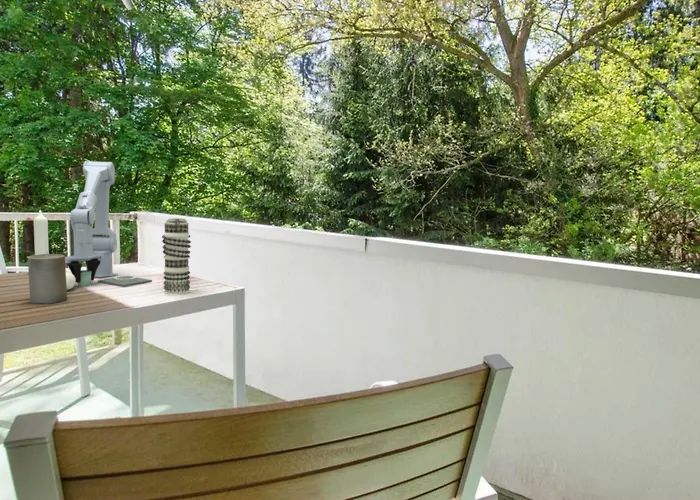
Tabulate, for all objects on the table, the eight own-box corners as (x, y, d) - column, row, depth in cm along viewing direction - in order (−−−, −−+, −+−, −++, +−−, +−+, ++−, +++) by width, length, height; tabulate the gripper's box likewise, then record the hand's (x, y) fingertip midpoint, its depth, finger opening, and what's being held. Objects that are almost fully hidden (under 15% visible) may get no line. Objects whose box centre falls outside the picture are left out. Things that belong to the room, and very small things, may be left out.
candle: (27, 275, 188) (24, 209, 185) (43, 273, 195) (41, 209, 192) (41, 277, 186) (39, 210, 183) (57, 274, 193) (55, 210, 190)
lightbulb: (60, 278, 157) (69, 265, 167) (41, 287, 157) (52, 274, 167) (73, 293, 160) (81, 279, 170) (55, 303, 160) (65, 288, 170)
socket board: (97, 282, 180) (97, 277, 180) (126, 277, 191) (126, 273, 191) (124, 287, 174) (124, 281, 174) (151, 282, 185) (151, 277, 185)
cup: (73, 285, 174) (73, 271, 173) (86, 283, 178) (85, 269, 177) (82, 287, 172) (82, 272, 171) (94, 285, 176) (94, 271, 175)
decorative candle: (162, 289, 172) (161, 217, 169) (190, 288, 176) (190, 218, 173) (162, 295, 164) (161, 219, 161) (191, 294, 167) (191, 219, 164)
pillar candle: (59, 295, 158) (57, 248, 156) (72, 300, 152) (70, 252, 150) (24, 300, 150) (22, 251, 148) (36, 305, 144) (33, 254, 142)
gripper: (70, 245, 165) (71, 285, 166) (109, 242, 178) (110, 279, 179) (57, 243, 168) (58, 283, 169) (96, 240, 181) (97, 277, 182)
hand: (84, 281), depth 175 cm, fingers closed on cup, 5 cm apart
